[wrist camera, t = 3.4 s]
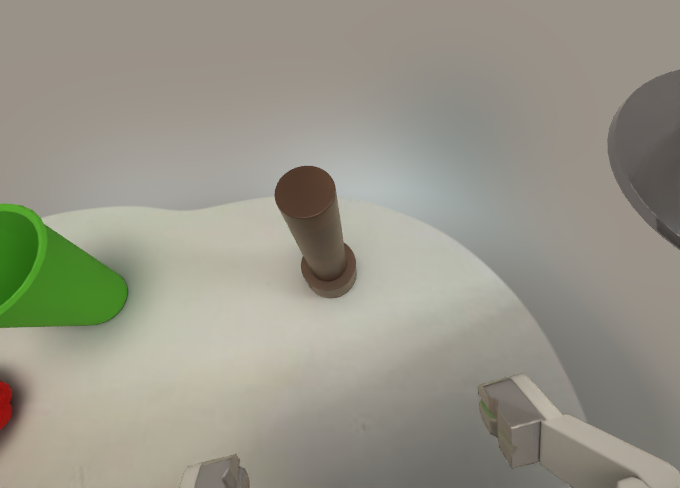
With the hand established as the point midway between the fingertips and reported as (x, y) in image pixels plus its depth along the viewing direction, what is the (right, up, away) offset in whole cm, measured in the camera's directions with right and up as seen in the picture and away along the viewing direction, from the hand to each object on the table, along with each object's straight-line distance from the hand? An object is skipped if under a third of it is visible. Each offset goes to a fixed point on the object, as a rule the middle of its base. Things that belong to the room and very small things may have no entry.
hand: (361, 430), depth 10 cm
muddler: (-1, +3, +20) cm, 20 cm away
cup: (-24, +1, +21) cm, 32 cm away
